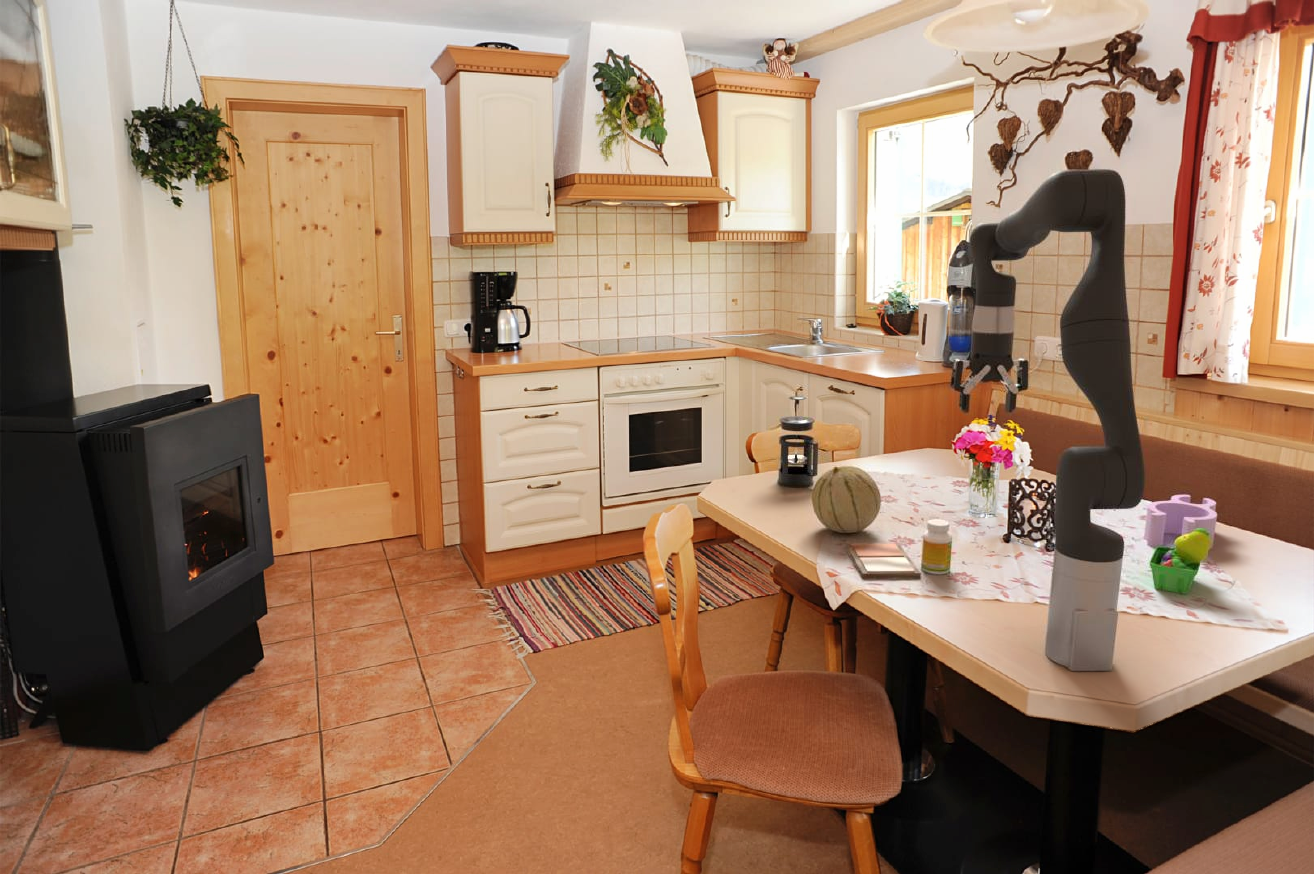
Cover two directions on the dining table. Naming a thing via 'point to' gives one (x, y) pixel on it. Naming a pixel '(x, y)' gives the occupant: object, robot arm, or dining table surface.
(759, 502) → the dining table surface
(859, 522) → the cantaloupe
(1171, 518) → the clip
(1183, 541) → the fruit basket
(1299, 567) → the dining table surface
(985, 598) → the dining table surface
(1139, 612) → the dining table surface
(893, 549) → the makeup palette
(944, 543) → the supplement bottle
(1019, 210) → the robot arm
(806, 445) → the french press
